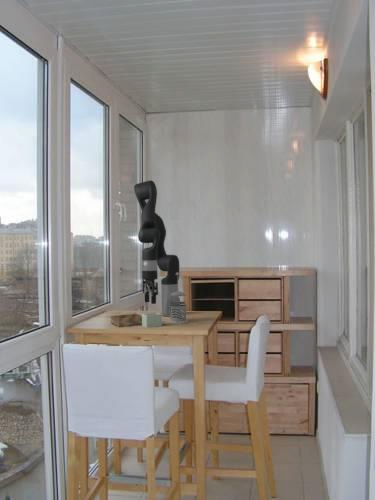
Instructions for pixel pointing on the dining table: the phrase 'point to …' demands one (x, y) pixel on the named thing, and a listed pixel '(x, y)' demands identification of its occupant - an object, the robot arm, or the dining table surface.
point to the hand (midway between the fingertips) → (150, 302)
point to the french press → (178, 317)
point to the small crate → (151, 320)
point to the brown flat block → (126, 320)
